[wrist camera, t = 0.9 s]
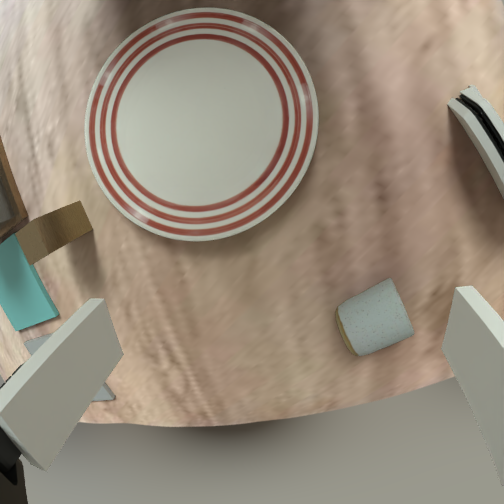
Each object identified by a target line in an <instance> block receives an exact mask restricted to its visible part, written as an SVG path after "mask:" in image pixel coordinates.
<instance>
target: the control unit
mask: <svg viewBox="0 0 504 504" xmlns="http://www.w3.org/2000/svg"><path fill="white" fill-rule="evenodd" d="M27 216H28V214H27V211H26V209H25V207H24V204H23V201H22V199H21V196H20V194H19V191H18V188H17V186H16V183H15V180H14V177H13V174H12V172H11V169H10V166H9V163H8V160H7V156H6V153H5V150H4V147H3V143H2V140H1V136H0V239H1V238H2V237H3V236H4V235H5V234H7V233H8V232H9V231H10V230H11V229H13V228H14V227H15V226H16V225H17V224H19V223H20V222H21V221H22V220H24V219H25V218H26V217H27Z"/></svg>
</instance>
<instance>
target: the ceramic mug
mask: <svg viewBox="0 0 504 504" xmlns="http://www.w3.org/2000/svg"><path fill="white" fill-rule="evenodd" d="M335 316H336V321H337V325H338V328H339V331H340V333H341V336H342V338H343V340H344V342H345V344H346V346H347V348H348V349H349V351H350V352H351V353H352V354H353V355H355V356H363V355H367V354H370V353H373V352H375V351H377V350H380V349H383V348H385V347H388V346H390V345H392V344H394V343H397V342H399V341H401V340H404V339H406V338H408V337H411V336H412V335H414V330H413V327H412V325H411V322H410V320H409V318H408V315H407V312H406V310H405V307H404V305H403V303H402V301H401V299H400V296H399V294H398V292H397V290H396V288H395V285H394V283H393V281H392V279H391V278H388V279H386V280H384V281H382V282H381V283H379V284H377V285H375V286H373V287H371V288H369V289H367V290H366V291H364V292H362V293H360V294H358V295H356V296H354V297H352V298H350V299H348V300H346V301H345V302H343V303H342V304H341V305H339V306H338V307H337V309H336V312H335Z"/></svg>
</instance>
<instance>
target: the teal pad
mask: <svg viewBox="0 0 504 504" xmlns="http://www.w3.org/2000/svg"><path fill="white" fill-rule="evenodd" d="M15 233H17V232H15ZM15 233H14V234H12V235H11V236H10V237H9V238H7V239H6V240H5V241H4V242H3V243H1V244H0V304H1V306H2V308H3V310H4V312H5V313H6V315H7V317H8V319H9V320H10V322H11V324H12V326H13V327H14V329H15V331H18V330H21V329H24V328H27V327H29V326H32V325H35V324H37V323H40V322H43V321H46V320H48V319H51V318H54V317H56V316H57V315H59V312H58V311H57V309H56V307H55V305H54V304H53V302H52V300H51V298H50V297H49V295H48V293H47V291H46V289H45V287H44V286H43V284H42V282H41V280H40V278H39V276H38V274H37V272H36V270H35V268H34V266H33V264H32V265H29V263H28V261H27V259H26V257H25V255H24V253H23V250H22V248H21V246H20V244H19V242H18V239H17V237H16V235H15Z"/></svg>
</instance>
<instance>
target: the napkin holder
mask: <svg viewBox="0 0 504 504" xmlns="http://www.w3.org/2000/svg"><path fill="white" fill-rule="evenodd" d="M460 93H461V95H460V97H461V99H462V100H463V102H464V103H463V102H462V101H461V100H459V99H458V98H456V99H454V98H453V97H452V98H451V100H450V101H449V102H448V104H447V105H448V106H449V107H450V109H451V110H452V112H453V113H454V115H455V116H456V118H457V119H458V121H459V122H460V124H461V125H462V127H463V128H464V130H465V131H466V133H467V134H468V136H469V138H470V139H471V141H472V142H473V144H474V146H475V147H476V149H477V151H478V152H479V154H480V156H481V158H482V159H483V161H484V163H485V165H486V166H487V168H488V170H489V172H490V174H491V176H492V178H493V179H494V181H495V183H496V185H497V187H498V189H499V191H500V193H501V195H502V197H503V199H504V123H503V122H502V120H501V118H500V117H499V115H498V114H497V113H496V111H495V110H494V108H493V107H492V105H491V104H490V103H489V102H488V101H487V100H486V99H484V98H483V97H482V96H481V94H480V93H479V91H478V90H477V88H476V87H475V85H469V88H467V89H465V90H463V91H460Z"/></svg>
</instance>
